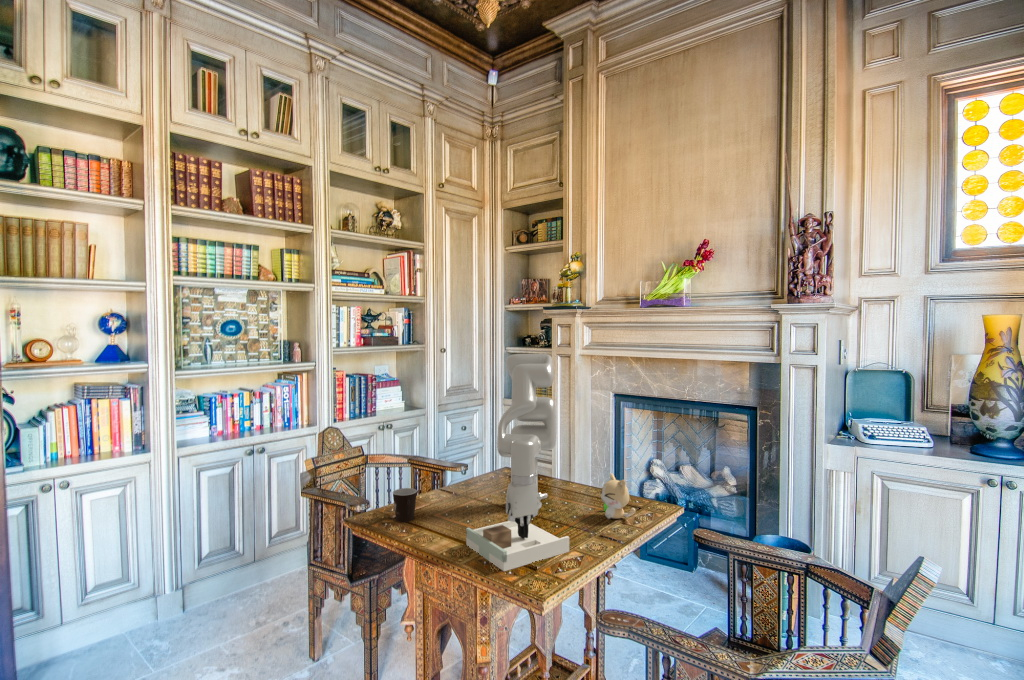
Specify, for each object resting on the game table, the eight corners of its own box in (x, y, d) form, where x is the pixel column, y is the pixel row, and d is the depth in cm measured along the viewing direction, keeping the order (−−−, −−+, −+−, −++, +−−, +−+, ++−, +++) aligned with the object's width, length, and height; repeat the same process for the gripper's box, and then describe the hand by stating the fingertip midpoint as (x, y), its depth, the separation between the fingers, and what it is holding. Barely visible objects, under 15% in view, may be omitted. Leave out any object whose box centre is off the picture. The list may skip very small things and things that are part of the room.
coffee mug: (396, 514, 195) (396, 488, 195) (419, 515, 195) (419, 488, 195) (387, 526, 183) (387, 498, 183) (412, 526, 183) (412, 498, 183)
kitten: (593, 511, 198) (593, 472, 197) (617, 509, 200) (617, 469, 200) (611, 525, 183) (611, 482, 183) (636, 522, 186) (636, 480, 186)
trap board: (528, 529, 180) (527, 513, 180) (569, 551, 162) (569, 533, 162) (466, 545, 167) (466, 528, 167) (503, 571, 149) (503, 552, 148)
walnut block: (502, 540, 164) (502, 525, 164) (511, 546, 160) (511, 529, 160) (483, 546, 160) (483, 529, 160) (491, 551, 156) (491, 535, 156)
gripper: (535, 472, 173) (535, 528, 173) (496, 479, 164) (496, 538, 165) (549, 478, 166) (549, 535, 167) (509, 485, 158) (509, 546, 159)
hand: (523, 536), depth 166 cm, fingers closed
